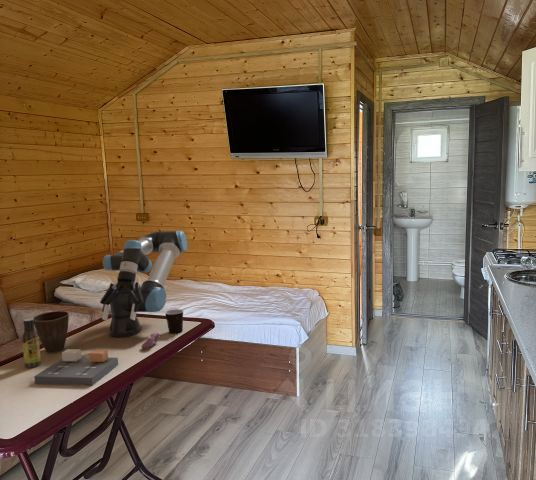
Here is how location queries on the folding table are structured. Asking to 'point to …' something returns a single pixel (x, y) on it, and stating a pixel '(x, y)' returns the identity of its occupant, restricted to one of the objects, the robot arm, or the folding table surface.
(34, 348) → the sauce bottle
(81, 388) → the folding table surface
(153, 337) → the pink lumpy piece
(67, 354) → the block
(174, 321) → the coffee mug
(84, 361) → the board
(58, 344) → the plant pot
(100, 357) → the block
